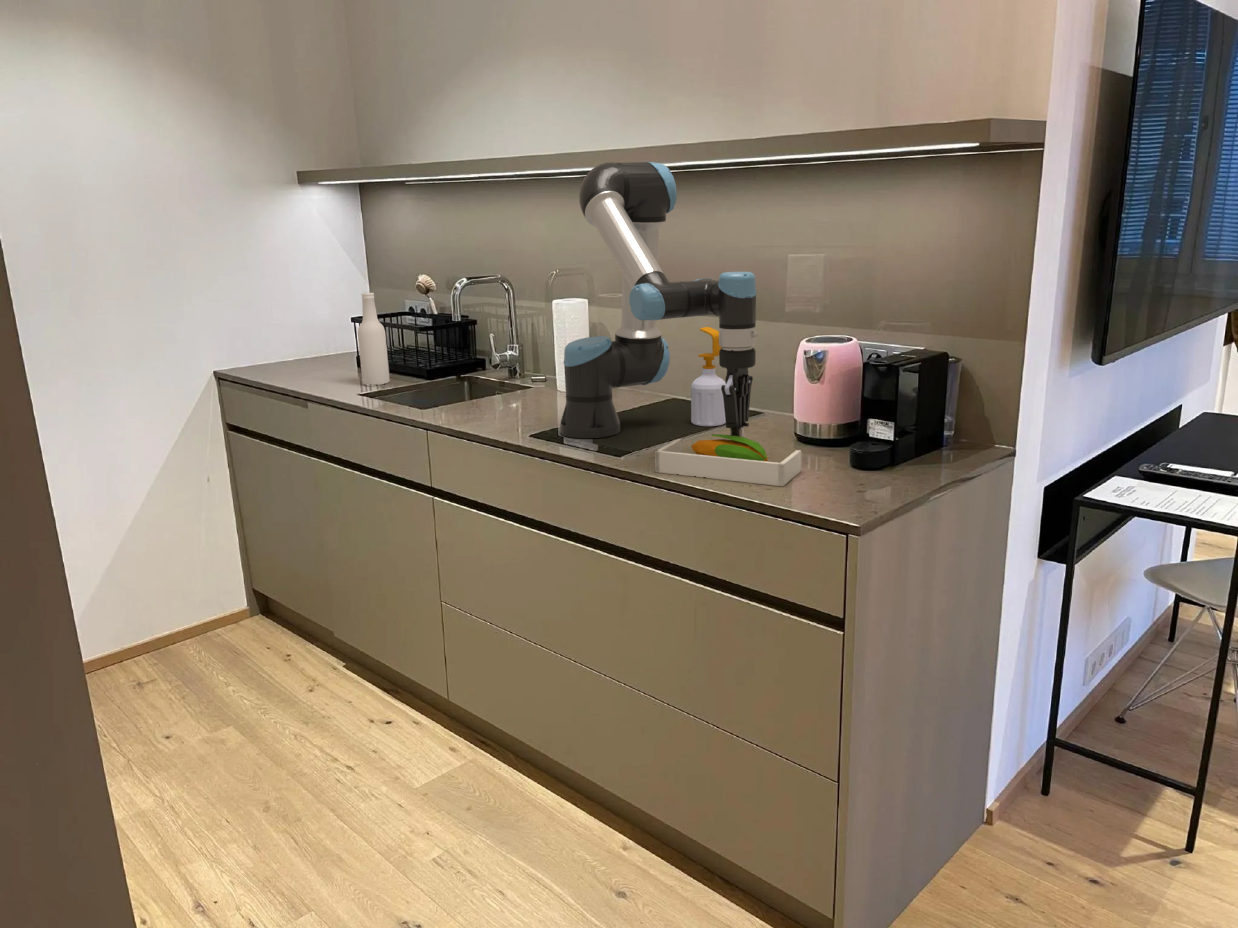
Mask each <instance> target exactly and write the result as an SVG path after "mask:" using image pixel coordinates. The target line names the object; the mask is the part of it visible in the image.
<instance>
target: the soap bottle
mask: <svg viewBox="0 0 1238 928" xmlns="http://www.w3.org/2000/svg"><path fill="white" fill-rule="evenodd" d="M699 331H701V332H703V333H705V334H708V335H709V336H711V340H712V343H711V344H712V347H711V348H712V352H711V353H709V352H704V353H700V354H698V355H697V357H698V358H699V357H700V358H703V361H705V364H704V365H702V368H701V369H702V371H701V373H702V374H701V375H700V376H699V377H697V378H695V379H694V380H693V381H692V383H691V386H690V396H691V397H690V401H691V402H690V406H691V407H690V408H691V410H690V411H691V413H690V417H691V418H690V419H691V421H690V422H691V423H692V424H693V425H695V426H699V427H719V426H722V425H726V419H725V409H724V399H723V394H722V390H721V387H722V385H726V382H725V379H723V378H722V377H719V376H718V375H717V374H716V365H715V364H713V361H714V360H715V357H719V350H720V349H721V348H722V347H720V346H719V330H717V329H715V328H712V327H709V326H705V327H700V328H699Z"/></svg>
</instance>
